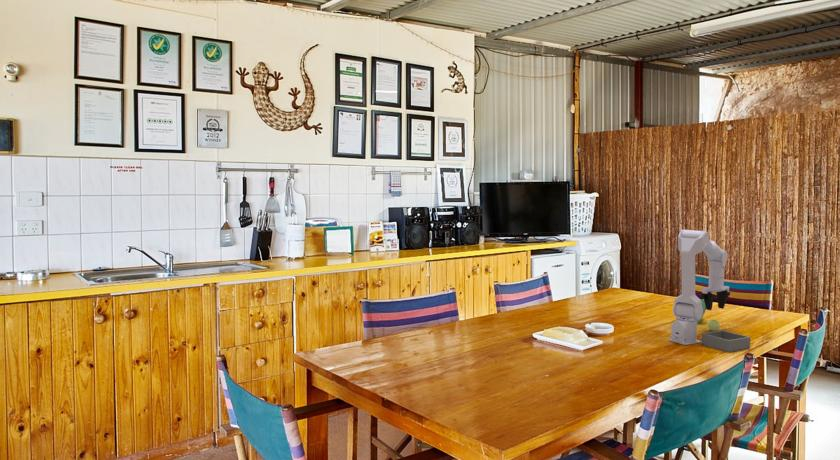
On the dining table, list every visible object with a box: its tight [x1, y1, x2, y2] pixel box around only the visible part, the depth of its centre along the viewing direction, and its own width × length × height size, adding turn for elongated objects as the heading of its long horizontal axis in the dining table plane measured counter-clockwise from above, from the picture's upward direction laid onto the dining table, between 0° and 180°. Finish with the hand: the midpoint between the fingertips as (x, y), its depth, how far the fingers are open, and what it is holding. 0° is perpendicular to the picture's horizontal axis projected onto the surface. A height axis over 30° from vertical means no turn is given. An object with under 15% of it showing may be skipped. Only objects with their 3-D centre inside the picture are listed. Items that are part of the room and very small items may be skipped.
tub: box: [700, 329, 751, 354], centre depth 241 cm, size 12×12×4 cm
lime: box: [707, 319, 721, 332], centre depth 266 cm, size 5×5×5 cm
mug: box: [697, 298, 706, 325], centre depth 283 cm, size 15×10×10 cm
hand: (714, 309), depth 265 cm, fingers open, 7 cm apart
